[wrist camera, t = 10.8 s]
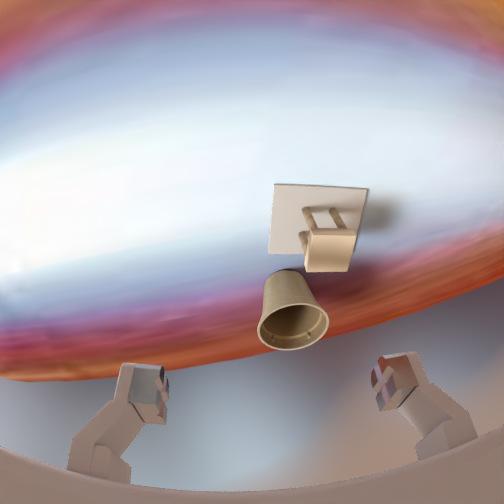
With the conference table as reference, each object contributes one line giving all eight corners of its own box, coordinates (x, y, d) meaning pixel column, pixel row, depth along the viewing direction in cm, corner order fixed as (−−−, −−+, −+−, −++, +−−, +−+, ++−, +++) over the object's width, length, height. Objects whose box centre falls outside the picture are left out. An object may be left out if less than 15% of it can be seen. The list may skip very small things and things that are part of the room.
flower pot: (328, 273, 46) (343, 316, 39) (293, 314, 50) (301, 356, 43) (275, 250, 43) (283, 293, 36) (242, 295, 47) (244, 340, 40)
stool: (300, 204, 38) (313, 235, 33) (338, 206, 39) (356, 235, 33) (296, 238, 41) (306, 272, 35) (332, 239, 42) (347, 271, 36)
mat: (274, 184, 37) (274, 185, 37) (365, 188, 38) (367, 190, 37) (268, 252, 43) (268, 254, 42) (350, 252, 44) (351, 254, 43)
